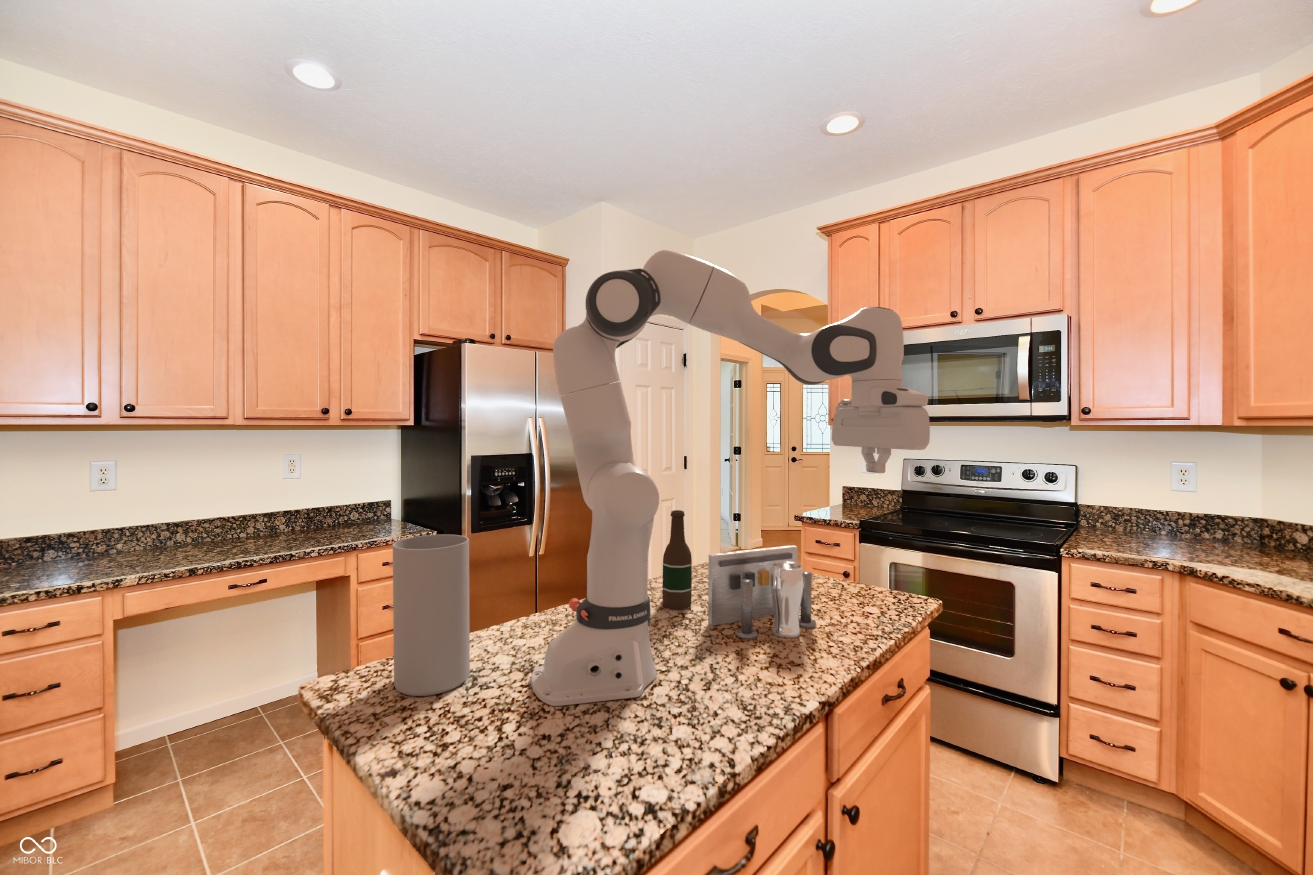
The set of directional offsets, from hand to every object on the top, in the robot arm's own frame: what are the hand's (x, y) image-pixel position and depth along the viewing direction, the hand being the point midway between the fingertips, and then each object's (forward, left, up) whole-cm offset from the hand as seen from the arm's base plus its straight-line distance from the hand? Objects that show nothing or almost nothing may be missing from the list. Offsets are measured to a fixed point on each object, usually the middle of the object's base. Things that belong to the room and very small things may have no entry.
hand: (875, 472), depth 101 cm
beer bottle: (-17, +48, -37) cm, 63 cm away
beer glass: (-3, +22, -37) cm, 43 cm away
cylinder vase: (-75, +29, -37) cm, 89 cm away
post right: (+4, +24, -37) cm, 44 cm away
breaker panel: (-4, +33, -37) cm, 50 cm away
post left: (-12, +24, -37) cm, 46 cm away
